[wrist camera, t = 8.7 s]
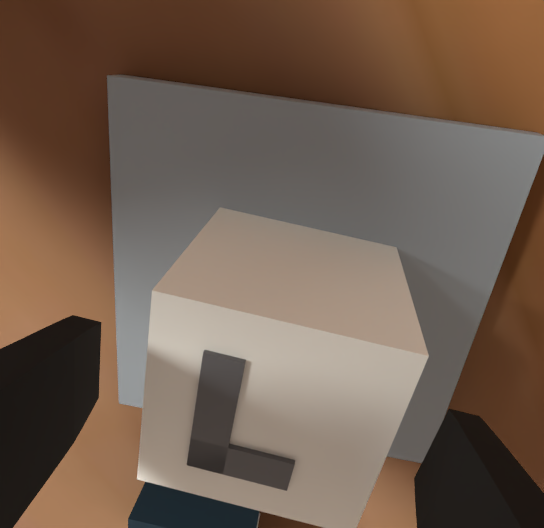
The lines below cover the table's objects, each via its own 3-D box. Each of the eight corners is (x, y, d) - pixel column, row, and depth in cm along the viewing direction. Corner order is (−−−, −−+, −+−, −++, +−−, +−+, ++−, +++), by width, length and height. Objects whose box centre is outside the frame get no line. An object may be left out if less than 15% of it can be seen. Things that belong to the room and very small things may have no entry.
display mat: (120, 74, 12) (107, 75, 11) (536, 132, 11) (549, 137, 11) (128, 388, 17) (118, 403, 16) (422, 446, 16) (426, 464, 15)
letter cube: (199, 350, 15) (134, 483, 10) (220, 207, 12) (149, 293, 8) (349, 386, 14) (353, 540, 10) (396, 247, 12) (430, 360, 8)
